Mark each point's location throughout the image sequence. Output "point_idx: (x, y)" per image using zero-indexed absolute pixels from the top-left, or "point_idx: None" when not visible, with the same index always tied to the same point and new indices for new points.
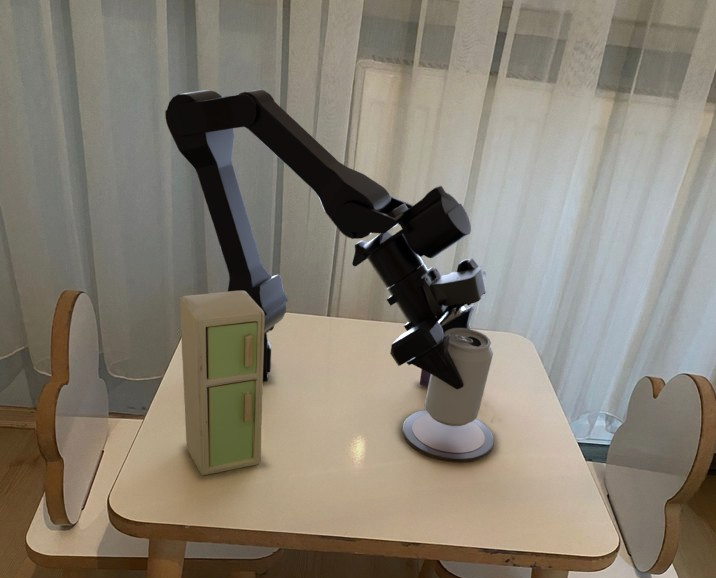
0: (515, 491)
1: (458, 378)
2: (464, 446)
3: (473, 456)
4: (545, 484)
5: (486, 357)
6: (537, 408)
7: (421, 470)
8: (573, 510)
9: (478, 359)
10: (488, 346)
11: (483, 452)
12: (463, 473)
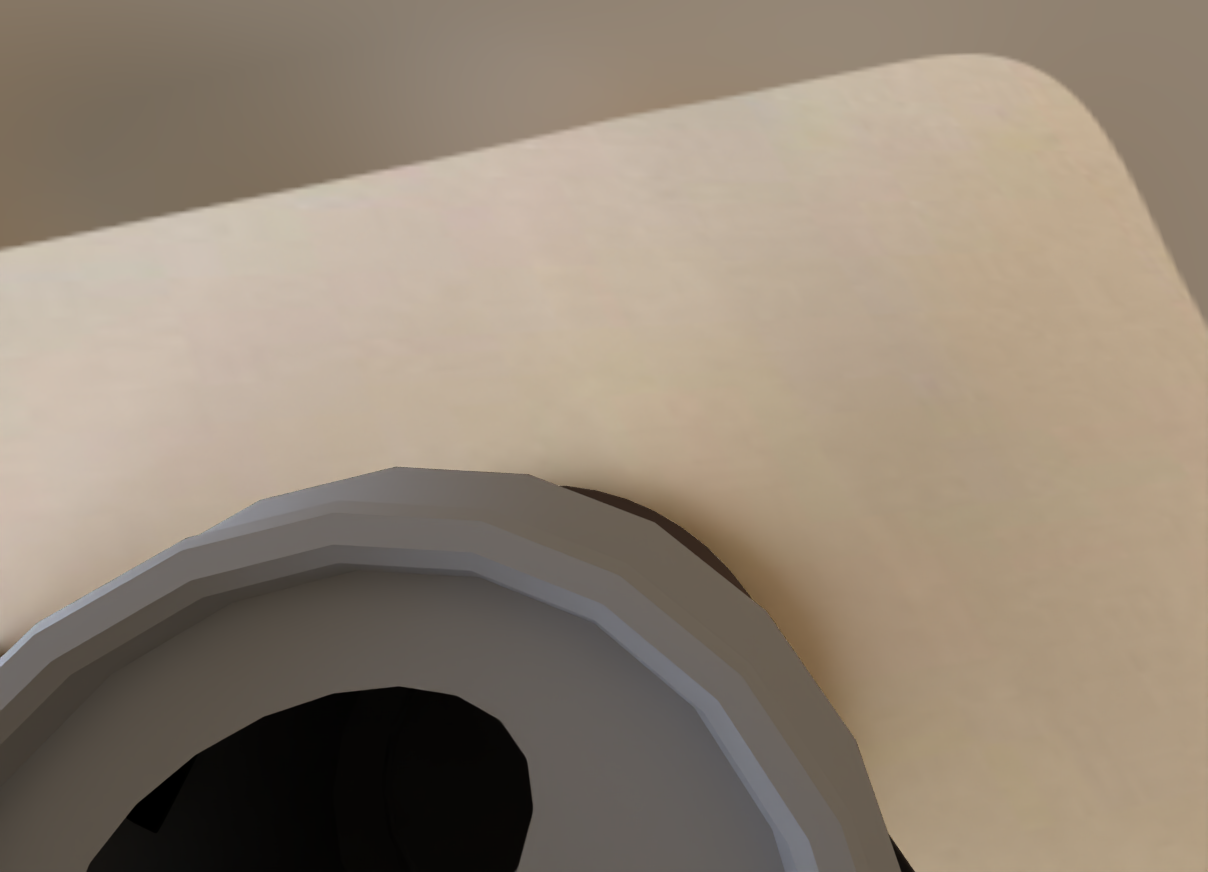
0: (863, 362)
1: (903, 855)
2: None
3: (715, 568)
4: (751, 253)
5: (650, 544)
6: (95, 308)
7: (927, 818)
8: (872, 156)
9: (774, 663)
10: (538, 529)
11: (659, 523)
12: (844, 599)
